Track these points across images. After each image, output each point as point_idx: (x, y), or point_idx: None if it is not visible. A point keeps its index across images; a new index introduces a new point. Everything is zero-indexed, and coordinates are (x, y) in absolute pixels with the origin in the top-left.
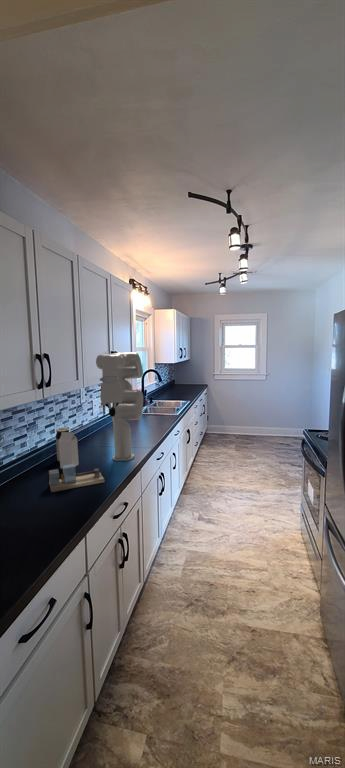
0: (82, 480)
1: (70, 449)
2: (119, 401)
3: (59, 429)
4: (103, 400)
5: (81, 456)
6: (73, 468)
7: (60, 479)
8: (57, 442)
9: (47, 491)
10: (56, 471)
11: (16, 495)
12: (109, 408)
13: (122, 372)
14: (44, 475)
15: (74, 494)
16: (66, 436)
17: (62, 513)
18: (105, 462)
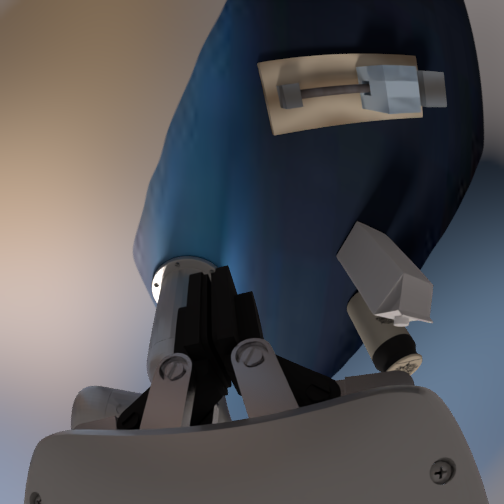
0: (335, 77)
1: (390, 255)
2: (66, 434)
3: (412, 367)
4: (447, 424)
5: (319, 320)
6: (386, 65)
7: (397, 117)
8: (405, 328)
9: (418, 67)
10: (429, 85)
11: (469, 83)
12: (262, 343)
13: None
14: (424, 192)
15: (350, 8)
16: (417, 303)
17: None
18: (250, 258)
